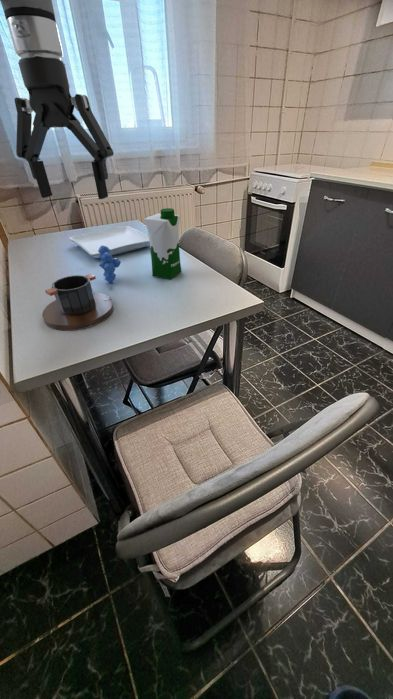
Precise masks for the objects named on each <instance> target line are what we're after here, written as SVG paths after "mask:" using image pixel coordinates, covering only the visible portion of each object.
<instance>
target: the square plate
mask: <svg viewBox="0 0 393 699" xmlns="http://www.w3.org/2000/svg"><path fill="white" fill-rule="evenodd" d="M68 239H69V240H70V241H72V242H73V243H74V244H76V245H77V246H78V247H79V248H81V249H82V250H84V251H85V252H86V253H87V254H88V255H89V256H91V257H92V258H94V259H100V258H99V256H100V253H99V252H98V250H99V248H100V247H101V246H102V245H104V246H106V247H108V248H109V249H110V252H109V254H110V255H111V256H112V257H114V256H116V255H120V254H124V253H129V252H132V251H137V250H139V249H142V248H145V247H148V246H149V247H150V243H149V235H148V234H146V233H145V232H142V231H140V230H138V229H136V228H133V227H131V226H128V225H123V226H117V227H110V228H105V229H99V230H93V231H89V232H85V233H81V234H76V235H72V236H69V237H68Z"/></svg>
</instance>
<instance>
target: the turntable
mask: <svg viewBox="0 0 393 699" xmlns="http://www.w3.org/2000/svg"><path fill="white" fill-rule="evenodd" d="M93 294H94V298H95V303H96V305H95V307H94V308H93V309H91V310H90V311H88V312H85V313H82V314H77V315H67V314H64V313H62V312H61V311H60V309H59V306H58V304H57V301H56V299H55V300H53V301H52V302H50V303H48V304H47V305H46V306H45V307H44V309H43V311H42V313H41V317H42V319H43V322H44V324H45V325H46V326H47V327H49V328H51V329H53V330H58V331H76V330H83V329H87V328H91V327H93V326H96V325H98V324H100V323H102V322H104V321H106V320H107V319H108V318H109V317H110V316H112V314H113V312H114V310H115V305H114V301H113V298H112V297H111V296H109V295H107V294H105V293H101V292H94V291H93Z"/></svg>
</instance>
